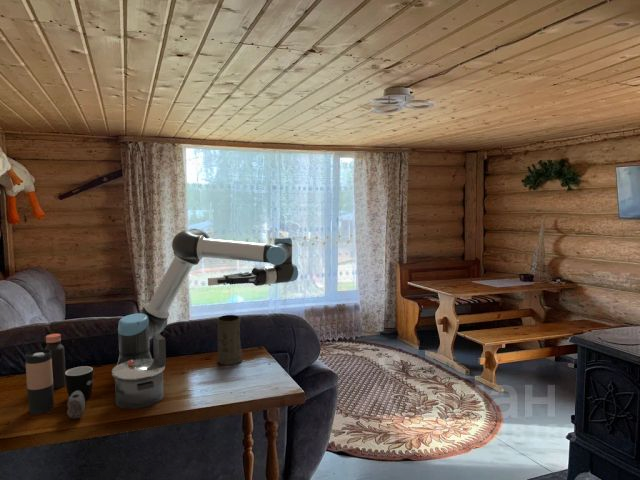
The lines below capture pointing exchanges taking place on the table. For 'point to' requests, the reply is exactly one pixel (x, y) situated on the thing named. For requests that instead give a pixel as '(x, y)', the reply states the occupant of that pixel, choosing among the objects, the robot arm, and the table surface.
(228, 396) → the table surface
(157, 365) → the lid
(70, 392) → the mug
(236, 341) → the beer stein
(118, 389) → the cooker pot
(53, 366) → the bottle
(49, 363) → the travel mug
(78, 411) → the perforated stone tool
